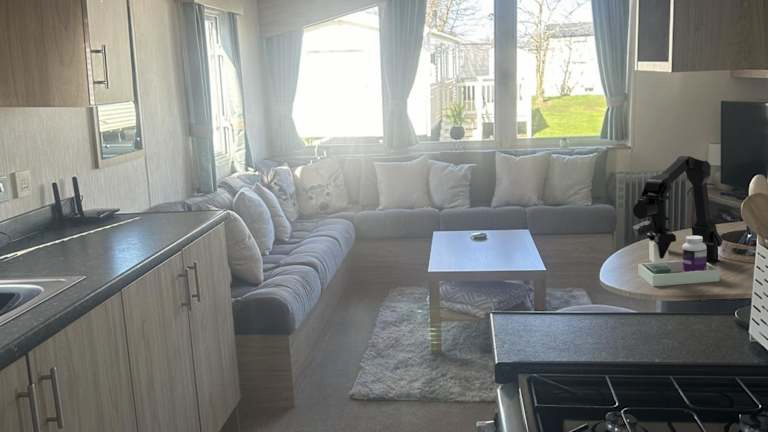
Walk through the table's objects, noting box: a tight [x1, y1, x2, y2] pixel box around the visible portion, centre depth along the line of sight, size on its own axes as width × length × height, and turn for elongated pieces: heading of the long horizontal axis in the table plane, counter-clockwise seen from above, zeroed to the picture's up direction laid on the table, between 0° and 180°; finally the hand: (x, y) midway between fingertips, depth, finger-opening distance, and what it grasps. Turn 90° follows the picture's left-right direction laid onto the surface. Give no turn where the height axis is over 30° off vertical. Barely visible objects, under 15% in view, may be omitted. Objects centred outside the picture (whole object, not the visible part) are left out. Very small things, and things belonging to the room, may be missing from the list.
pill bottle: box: [681, 235, 708, 272], centre depth 269 cm, size 8×8×14 cm
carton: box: [648, 240, 669, 263], centre depth 269 cm, size 5×5×8 cm
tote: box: [637, 260, 720, 287], centre depth 270 cm, size 23×16×4 cm
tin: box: [646, 263, 672, 275], centre depth 271 cm, size 7×7×5 cm
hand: (659, 256), depth 269 cm, fingers closed on carton, 5 cm apart
